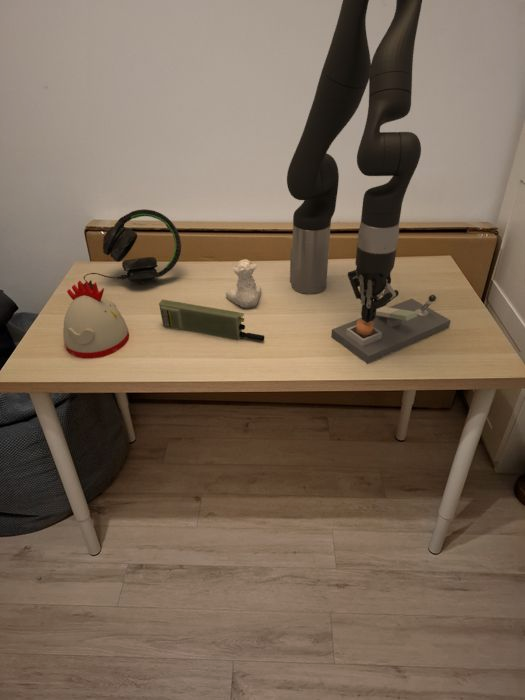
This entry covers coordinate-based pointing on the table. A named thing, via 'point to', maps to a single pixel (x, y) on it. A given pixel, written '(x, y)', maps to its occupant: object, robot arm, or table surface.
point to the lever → (428, 302)
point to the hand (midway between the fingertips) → (367, 320)
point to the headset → (123, 240)
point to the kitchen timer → (93, 324)
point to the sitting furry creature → (245, 285)
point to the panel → (391, 332)
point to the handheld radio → (204, 320)
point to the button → (364, 327)
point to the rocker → (396, 313)
